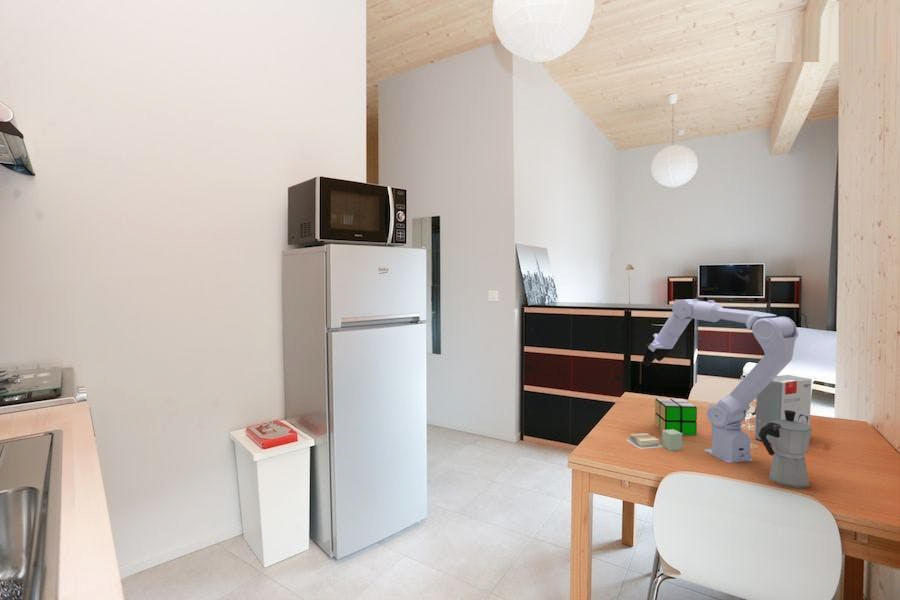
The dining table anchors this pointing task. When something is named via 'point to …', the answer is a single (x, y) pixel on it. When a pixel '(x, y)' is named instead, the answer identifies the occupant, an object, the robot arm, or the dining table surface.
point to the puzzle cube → (676, 416)
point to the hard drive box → (783, 401)
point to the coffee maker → (787, 450)
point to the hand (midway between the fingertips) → (651, 361)
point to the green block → (672, 439)
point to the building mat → (643, 447)
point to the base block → (644, 440)
